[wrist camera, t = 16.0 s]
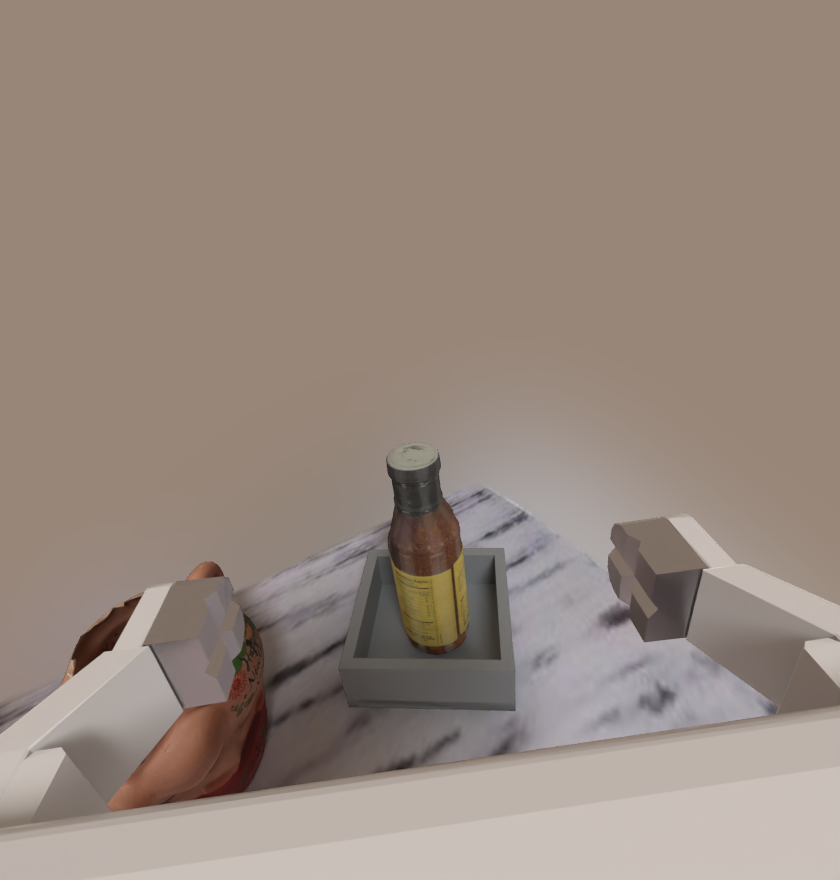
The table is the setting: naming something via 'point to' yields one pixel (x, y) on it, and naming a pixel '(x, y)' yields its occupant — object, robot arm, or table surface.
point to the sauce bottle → (426, 552)
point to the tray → (419, 673)
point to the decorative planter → (192, 722)
